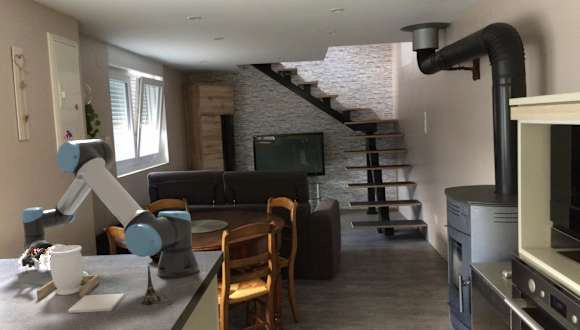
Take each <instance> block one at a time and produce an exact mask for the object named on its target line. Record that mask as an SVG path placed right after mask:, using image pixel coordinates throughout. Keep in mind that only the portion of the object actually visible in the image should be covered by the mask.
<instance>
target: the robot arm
mask: <svg viewBox="0 0 580 330" xmlns="http://www.w3.org/2000/svg"><path fill="white" fill-rule="evenodd" d="M114 160H115V153H114V149H113V147H112V146H111V144H110V143H108V142H107V141H106V140H103V139H100V138H92V139H80V140H79V139H78V140H74V139H73V140H68V141H65V142H63V143H62V144H61V145H60V146H59V147H58V149H57V152H56V163H57V167H58V168H59V170H60V172H62V173H63V174H67V175H71V174H72V175H73V177H74V180H73V181H72V183H71V184H70V185H69V187H68V188H67V190H65V192H64V194H63V195H62V197H61V198H60V200H59V201H58V202H57V204H56V205H55V206H54V208H49V209H46V210H44V209H43V207H41V206H39V207H38V206H37V207H35V206H34V207H28V208H25V209H23V210H22V217H21V218H22V225H23V233H24V235H23V236H24V242H23V244H22V247H23V250H24V252H26V250H27V249H29V248H30V247H32V246H33V247H36V248H43V249H41V250H40V251H39V252H37V254H36V255H34V256H33V255H32V253H31V254H30V253H26V255H25V256H24V257H23V258H22V259H21V265H22V267H26V266H27V265H28V266H27V267H28V268H29V269H30V268H35V269H36V270H39V269H41V268H40V261H39V258H40V255H41V254H45V253H46V251H45V249H47V248H48V247H51V246H54V245H53V244H52V243H51V242H49V241H47V240H46V230H48V229H51V228H55V227H59V226H64V225H68V224H70V223H73V222H74V221H75V220H76V216H77V211H76V210H78V208H79V207H80V205H81V204H82V203H83V201H84V200H85V199H86V197H88V194H89V193H90V192H91V191H92V192H93V193H95V195H96V196H97V197H98V198H99V199H100V201H101V202H103V204H104V205H105V206H106V207H107V208H108V210H109V211H110V212H111V213H112V215H114V217H116V219H117V220H118V221H119V223H121V225H122V226H123V230H122V232H123V234H124V239H123V240H124V241H125V246H126V248H127V249H128V251H130V253H131V254H132V255H135V256H136V257H140V258H141V257H142V258H145V257H149V256H151V255H154V254H156V253H158V252H160V251H161V256H160V260H159V261H158V263H157V265H158V266H157V275H158V276H160V277H161V278H179V277H180V278H181V277H182V278H183V277H186V276H187V277H188V276H190V275H193V274H197V272H199V269H200V267H199V262H198V259H197V257H196V254H195V253H194V250H193V235H192V233H193V231H192V219H191V214H190V213H189V212H188V211H185V210H184V211H182V210H165V211H159V212H158V215H157V217H156V216H155V214H153V213H152V211H150V210H149V209H146V210H145V209H143V208H142V207H141V206H140V205H139V204H138V202H137V201H136V200H135V199H134V198H133V197H132V196H131V195H130V193H128V191H127V190H126V189H125V188H124V187H123V186H122V185H121V183H120V182H119V181H118V179H116V178H115V177H114V175H113V174H112V173H111V172H110V171H109V170H111V167H112V166H113V164H114ZM80 252H82V250H81V251H80Z"/></svg>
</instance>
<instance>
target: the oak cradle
mask: <svg viewBox="0 0 580 330" xmlns="http://www.w3.org/2000/svg"><path fill="white" fill-rule="evenodd" d="M100 281H101V280H100V275H99V274H85V275H84V274H83V278H82V282H81V284H80V285H81V286H82V287H80V288H79V292H78V293H79V298H83V297H84V296H85V295H87V294H88V293H90V292H91V291H92V290H93V289H94V288H96V287H97V286H98V285H99V284H100ZM54 290H57V288H56V286H55V285H54V282H53V279H52V280H50V281H49V282H47V283H45V284H44V285H42V287H40V288H39V289H37V290H36V296H37V300H42V299H44V297H46V296H47V295H49V294H50V293H52V292H53V291H54Z"/></svg>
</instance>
